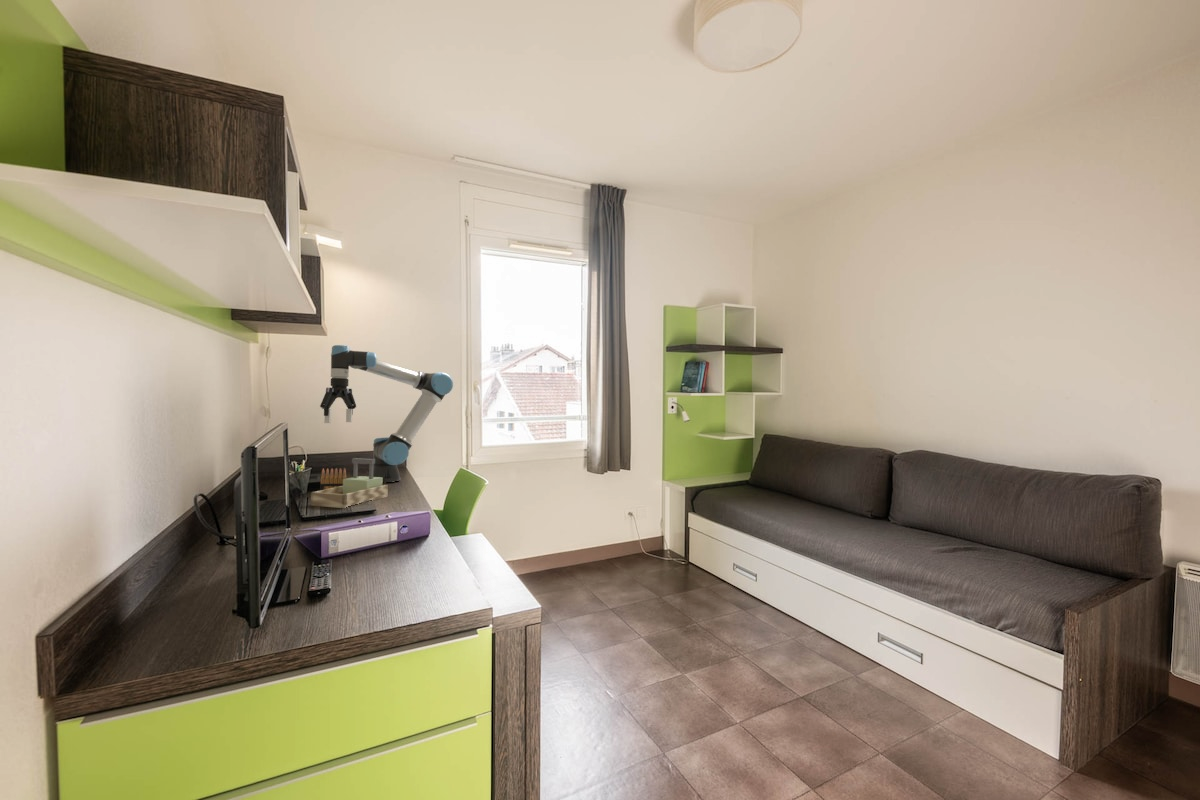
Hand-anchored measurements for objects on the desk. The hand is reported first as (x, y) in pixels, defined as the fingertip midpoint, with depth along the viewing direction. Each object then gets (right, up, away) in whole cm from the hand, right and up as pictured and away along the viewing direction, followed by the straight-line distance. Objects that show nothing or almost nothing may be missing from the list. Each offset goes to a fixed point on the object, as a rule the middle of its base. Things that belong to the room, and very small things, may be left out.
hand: (338, 422), depth 234 cm
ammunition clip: (+4, -32, -13) cm, 35 cm away
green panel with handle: (+21, -30, -19) cm, 41 cm away
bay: (+19, -32, -26) cm, 45 cm away
